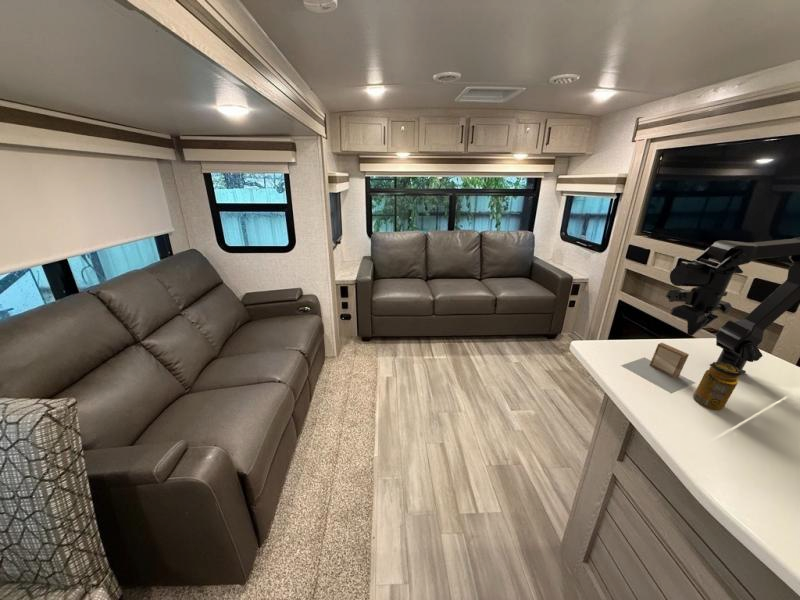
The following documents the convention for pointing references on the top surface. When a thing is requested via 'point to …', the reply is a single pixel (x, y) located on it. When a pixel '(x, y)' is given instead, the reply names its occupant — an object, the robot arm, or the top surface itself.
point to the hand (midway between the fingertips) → (690, 334)
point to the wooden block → (668, 360)
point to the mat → (657, 375)
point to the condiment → (717, 385)
